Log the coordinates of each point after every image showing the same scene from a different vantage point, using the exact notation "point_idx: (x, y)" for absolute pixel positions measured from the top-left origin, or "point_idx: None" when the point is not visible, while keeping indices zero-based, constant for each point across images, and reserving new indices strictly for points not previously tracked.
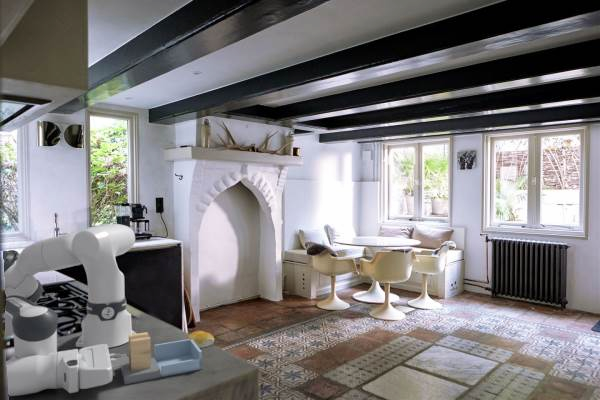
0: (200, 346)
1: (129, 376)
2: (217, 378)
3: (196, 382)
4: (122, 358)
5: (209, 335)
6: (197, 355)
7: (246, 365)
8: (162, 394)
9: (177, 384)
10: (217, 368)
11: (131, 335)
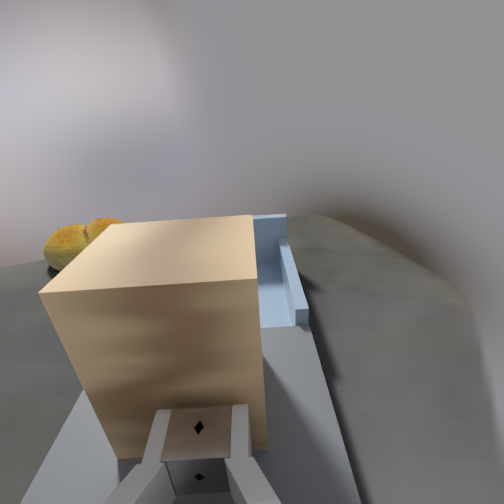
0: None
1: (349, 468)
2: (358, 247)
3: (377, 276)
4: (249, 454)
5: (119, 220)
6: (264, 235)
7: (300, 217)
8: (482, 354)
9: (386, 311)
10: (294, 244)
11: (83, 277)
